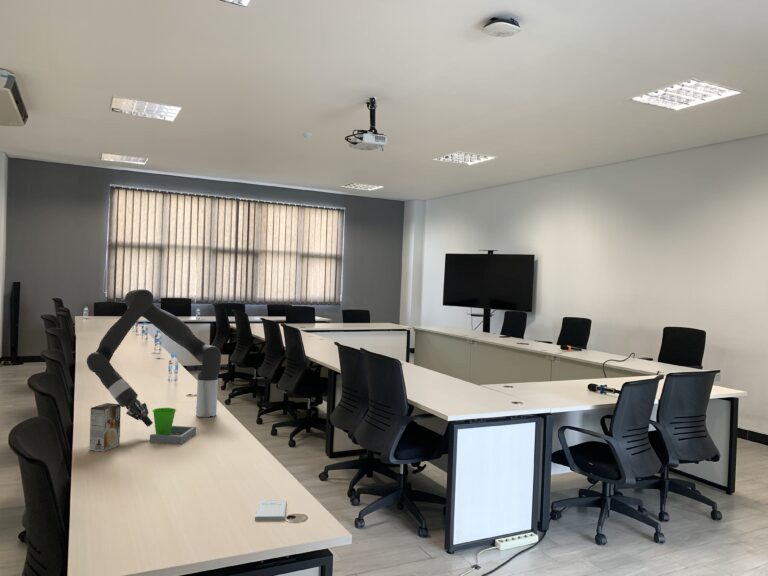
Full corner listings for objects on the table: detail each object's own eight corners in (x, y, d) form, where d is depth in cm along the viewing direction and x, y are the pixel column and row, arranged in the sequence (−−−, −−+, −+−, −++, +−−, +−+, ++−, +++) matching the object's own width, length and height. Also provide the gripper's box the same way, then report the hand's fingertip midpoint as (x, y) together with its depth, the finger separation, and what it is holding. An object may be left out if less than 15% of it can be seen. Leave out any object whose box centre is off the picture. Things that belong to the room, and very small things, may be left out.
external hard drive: (254, 522, 160) (258, 504, 173) (284, 522, 161) (286, 504, 174) (254, 516, 160) (258, 499, 173) (284, 516, 161) (286, 499, 174)
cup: (178, 435, 240) (180, 408, 240) (168, 440, 231) (169, 413, 231) (158, 433, 241) (159, 406, 241) (146, 438, 232) (148, 411, 232)
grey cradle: (166, 432, 243) (166, 425, 243) (195, 434, 242) (196, 426, 242) (149, 442, 228) (150, 434, 228) (181, 444, 227) (181, 436, 227)
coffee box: (105, 444, 223) (106, 402, 223) (120, 445, 222) (121, 403, 222) (88, 450, 214) (90, 407, 214) (103, 452, 213) (105, 408, 213)
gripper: (121, 389, 229) (149, 422, 228) (137, 384, 242) (164, 415, 242) (107, 402, 229) (135, 435, 229) (124, 395, 243) (151, 427, 242)
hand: (150, 424), depth 235 cm, fingers closed
